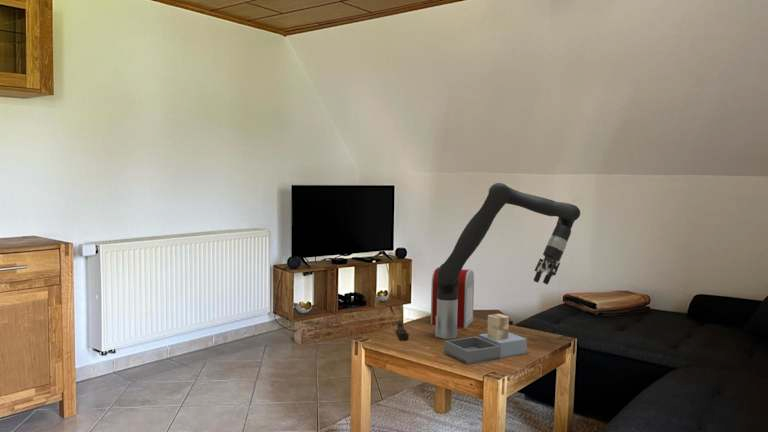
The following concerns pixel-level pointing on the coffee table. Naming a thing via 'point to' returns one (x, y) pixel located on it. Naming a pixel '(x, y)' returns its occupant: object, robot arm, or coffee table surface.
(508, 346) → the platform
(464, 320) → the red rounded-top case
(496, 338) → the block
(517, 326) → the coffee table surface
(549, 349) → the coffee table surface
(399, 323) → the hand tool
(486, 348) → the bin
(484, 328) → the coffee table surface
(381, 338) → the coffee table surface
